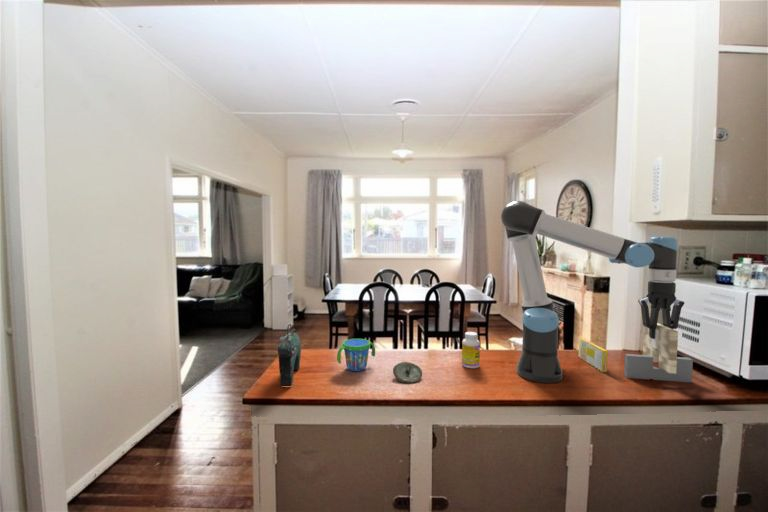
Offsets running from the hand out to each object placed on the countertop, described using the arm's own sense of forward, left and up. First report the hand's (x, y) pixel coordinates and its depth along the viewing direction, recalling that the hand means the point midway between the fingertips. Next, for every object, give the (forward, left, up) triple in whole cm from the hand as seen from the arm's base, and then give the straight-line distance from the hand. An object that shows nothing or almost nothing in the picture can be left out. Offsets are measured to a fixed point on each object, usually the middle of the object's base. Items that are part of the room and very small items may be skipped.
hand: (658, 347), depth 120 cm
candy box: (-17, +11, -12) cm, 23 cm away
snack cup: (-107, -11, -11) cm, 108 cm away
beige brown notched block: (0, 0, -6) cm, 6 cm away
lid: (-87, -16, -12) cm, 89 cm away
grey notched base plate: (0, 0, -11) cm, 11 cm away
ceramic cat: (-128, -24, -12) cm, 131 cm away
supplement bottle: (-64, 0, -11) cm, 65 cm away
